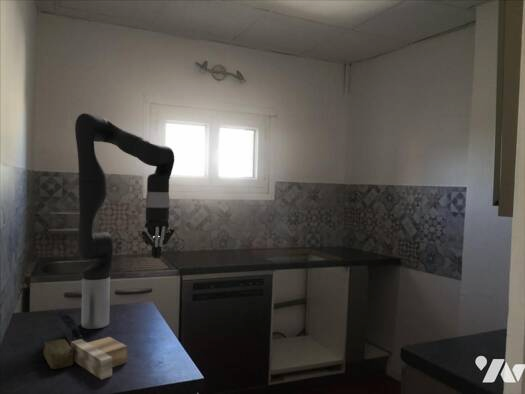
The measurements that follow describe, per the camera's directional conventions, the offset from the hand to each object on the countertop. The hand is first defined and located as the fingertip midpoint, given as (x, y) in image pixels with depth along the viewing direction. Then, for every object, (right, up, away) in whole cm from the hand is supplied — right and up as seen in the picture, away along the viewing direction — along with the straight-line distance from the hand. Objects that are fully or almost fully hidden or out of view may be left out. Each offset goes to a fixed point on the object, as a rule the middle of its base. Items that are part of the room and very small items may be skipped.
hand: (156, 257), depth 135 cm
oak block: (-10, -27, -18) cm, 34 cm away
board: (-13, -27, -22) cm, 37 cm away
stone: (-26, -27, -6) cm, 37 cm away
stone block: (-23, -27, -19) cm, 40 cm away
